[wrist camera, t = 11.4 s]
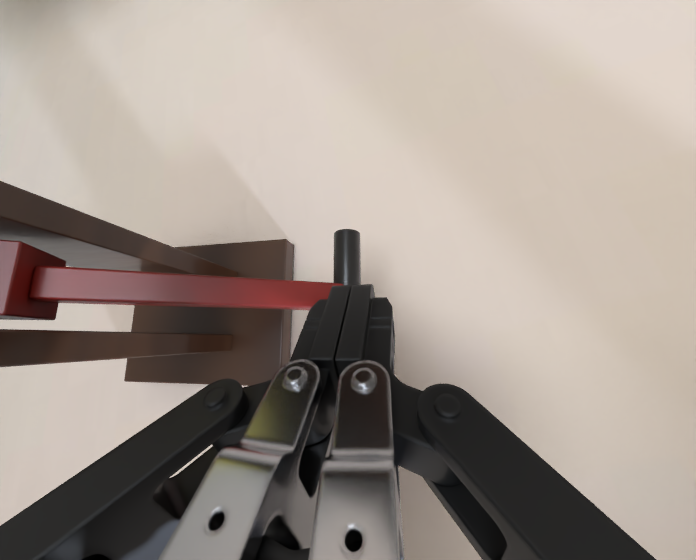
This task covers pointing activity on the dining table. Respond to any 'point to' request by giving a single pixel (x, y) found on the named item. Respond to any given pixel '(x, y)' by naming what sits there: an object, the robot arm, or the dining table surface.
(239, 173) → the dining table surface
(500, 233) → the dining table surface
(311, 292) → the lever handle
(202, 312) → the rod stand
